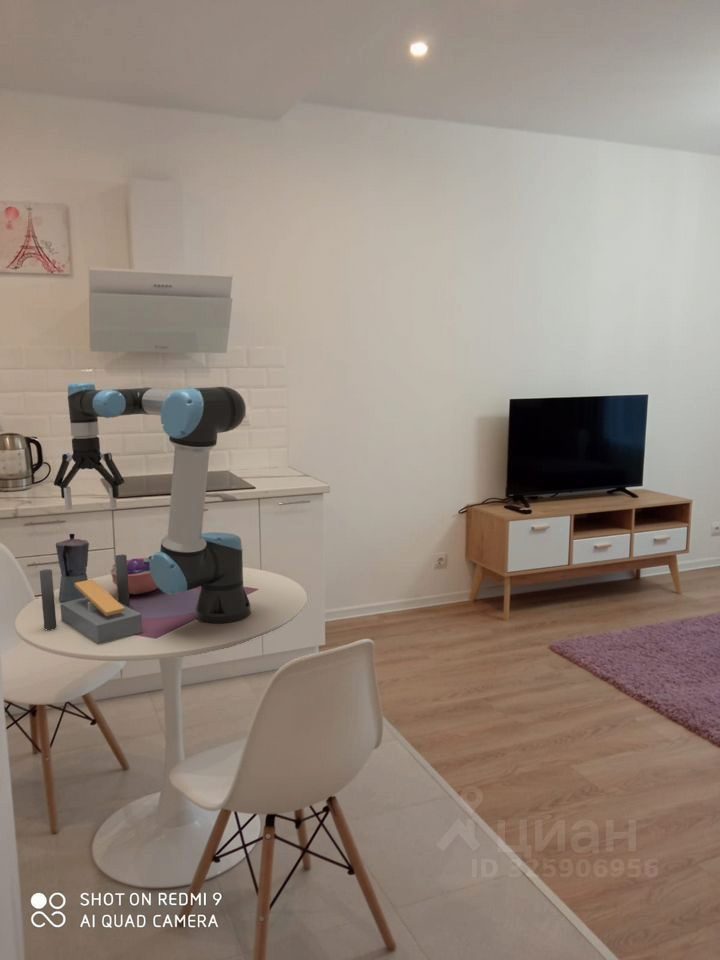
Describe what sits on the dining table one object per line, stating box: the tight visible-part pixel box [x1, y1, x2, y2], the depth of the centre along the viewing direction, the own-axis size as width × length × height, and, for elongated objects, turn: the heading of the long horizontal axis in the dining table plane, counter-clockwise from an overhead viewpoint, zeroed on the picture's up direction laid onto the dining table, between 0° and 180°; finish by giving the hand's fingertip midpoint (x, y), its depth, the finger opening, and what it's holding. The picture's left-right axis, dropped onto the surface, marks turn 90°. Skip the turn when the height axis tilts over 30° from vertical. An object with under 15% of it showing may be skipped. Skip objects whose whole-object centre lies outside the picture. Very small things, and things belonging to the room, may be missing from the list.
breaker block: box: [59, 597, 143, 645], centre depth 202 cm, size 24×12×7 cm, turn 43°
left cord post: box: [39, 568, 58, 631], centre depth 200 cm, size 3×3×16 cm
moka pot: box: [55, 533, 90, 603], centre depth 223 cm, size 10×15×20 cm, turn 10°
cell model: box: [110, 555, 159, 596], centre depth 231 cm, size 17×20×11 cm
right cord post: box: [115, 554, 131, 608], centre depth 214 cm, size 3×3×16 cm
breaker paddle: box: [75, 578, 125, 616], centre depth 201 cm, size 20×5×1 cm, turn 43°
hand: (91, 509), depth 220 cm, fingers open, 13 cm apart
